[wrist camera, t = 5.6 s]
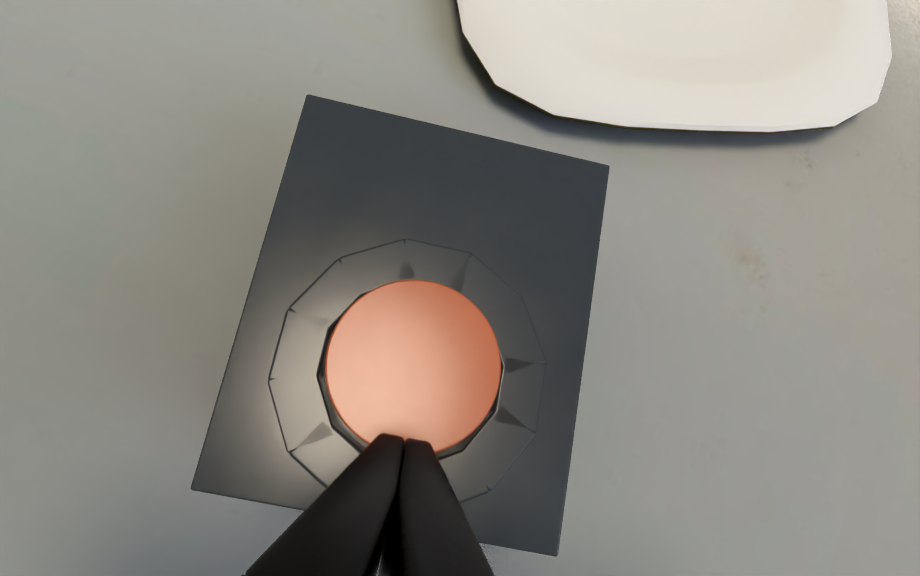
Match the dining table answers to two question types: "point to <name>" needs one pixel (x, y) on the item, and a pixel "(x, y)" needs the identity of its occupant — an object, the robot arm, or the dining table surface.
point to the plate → (685, 60)
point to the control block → (415, 258)
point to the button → (413, 364)
